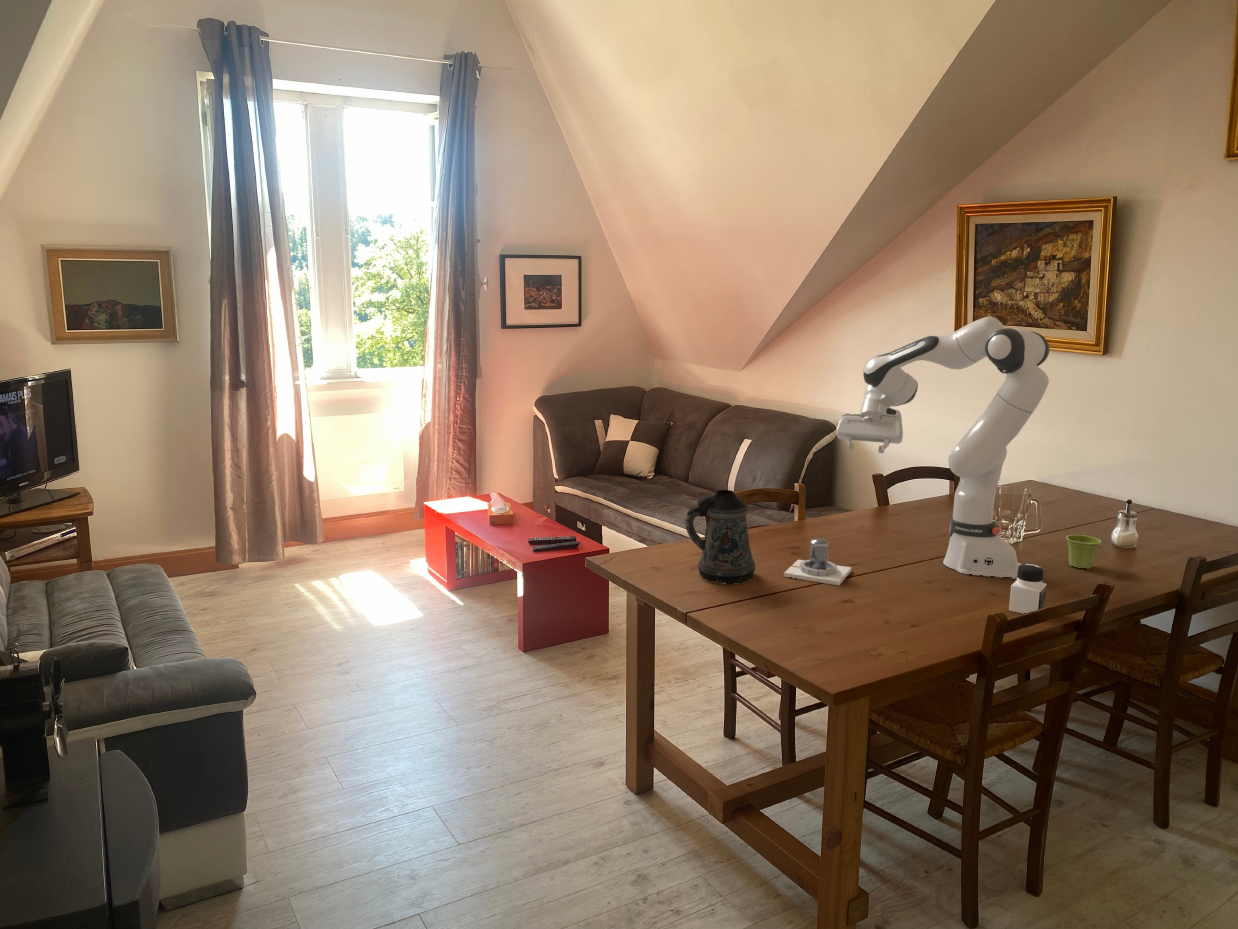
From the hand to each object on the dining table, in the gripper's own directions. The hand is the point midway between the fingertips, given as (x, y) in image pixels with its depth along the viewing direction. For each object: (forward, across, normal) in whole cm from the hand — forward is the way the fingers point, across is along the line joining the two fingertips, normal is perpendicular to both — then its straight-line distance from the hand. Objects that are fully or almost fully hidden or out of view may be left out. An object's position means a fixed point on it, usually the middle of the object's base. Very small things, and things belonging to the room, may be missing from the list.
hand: (865, 450), depth 281 cm
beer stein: (+54, -30, -9) cm, 63 cm away
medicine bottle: (+47, +50, -1) cm, 69 cm away
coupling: (+43, -6, 0) cm, 44 cm away
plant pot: (+14, +63, +32) cm, 72 cm away
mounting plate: (+44, -6, +1) cm, 44 cm away
